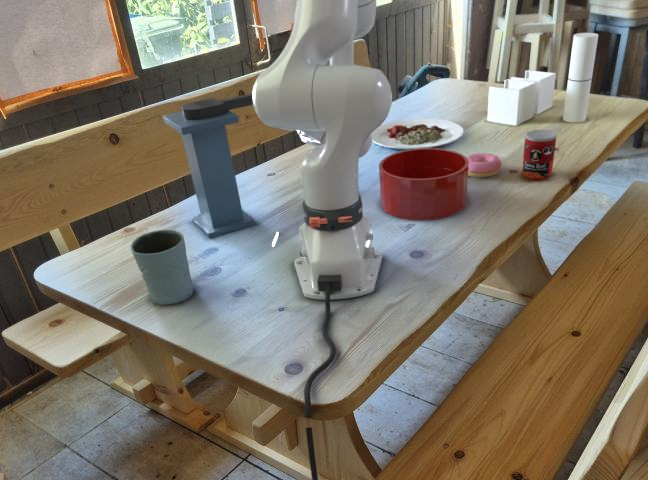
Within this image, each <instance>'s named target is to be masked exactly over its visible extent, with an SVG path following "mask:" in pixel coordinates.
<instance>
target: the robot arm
mask: <svg viewBox="0 0 648 480" xmlns="http://www.w3.org/2000/svg"><path fill="white" fill-rule="evenodd" d="M295 3H296V4H295V14H294V20H293V25H292V29H291V33H290V36H289V38H288V41H287V43H286V44H285V46H284V48H283V50H282V51H281V53H280V54H279V56H278V57H277V58H276V59H275V60H274V61H273V62H272V63H271V64H270V65H269V66H268V67H267V68H265V69H264V70H263V71H261V72H260V73H259V75H258V76H257V77H256V80H255V82H254V84H253V87H252V93H253V94H252V98H253V105H252V106H253V109H254V111H255V113H256V115H257V117H258V118H259V120H260V122H262V123H263V125H266V126H268V127H272V128H276V129H281V130H285V131H296V132H297V134H298V135H299V138H300V140H301V142H303V143H305V144H308V145H310V146H313V147H315V148H314V149H312V150H311V151H309V152H308V153H307V154H306V155H305V156H304V157H303V159H302V161H301V163H300V168H299V169H300V178H301V186H302V193H303V194H302V195H303V200H302V215H303V221H304V222H303V223H302V224H301V225H300V226H299V229H298V230H299V235H300V237H299V238H300V244H301V250H300V252H299V254H300V256H299V257H297V258H295V259H294V263H293V265H294V269H295V273H296V275H297V278H298V282H299V285H300V287H301V291H302V293H303V296H304V298H308V299H312V300H319V301H321V300H323V301H324V306H325V307H324V310H325V311H324V318H323V321H322V324H321V335H322V336H323V339H324V341H325V343H326V344H327V346H328V348H329V351H330V352H329V356H328V357H327V359H326V360H325V361H324V362H323V363H322V364H320V365H319V366H318V367H316V369H314V371H313V372H312V373H310V375H309V377H308V378H307V380H306V382H305V385H304V388H303V396H304V397H303V398H304V417H305V418H306V419H309V418H311V417H312V399H311V388H312V385H313V382H314V381H315V379H316V378H317V377H318V376H319V375H320V374H321V373H322V372H324V371H325V370H326V369H327V368H328V367H329V366H331V364H332V363H333V361H334V360H335V357H336V353H337V350H336V346H335V344H334V342H333V340H332V339H331V338H330V336H329V334H328V324H329V321H330V317H331V301H332V300H344V299H345V300H346V299H352V298H358V297H361V296H365V295H368V294H370V293H373V292H374V291H375V288H376V285H377V281H378V276H379V273H380V269H381V265H382V261H383V254H382V253H381V251H378V250H375V247H374V246H373V240H374V237H373V233H372V229H371V221H370V220H369V219H367V218H366V217H364V216H363V213H364V212H363V206H364V204H363V201H362V196H361V195H360V191H359V189H360V188H359V161H360V158H362V157H364V156H365V155H366V154H367V153H368V152H369V151H370V148H371V146H372V143H373V141H372V136H371V133H372V132H373V131H374V130H375V129H376V128H378V127H379V126H380V125H383V124H384V122H385V121H386V119H387V118H388V116H389V114H390V111H391V108H392V103H393V93H392V87H391V84H390V82H389V80H388V78H387V76H386V75H385V74H384V72H383V71H382V70H381V69H379V68H374V67H369V66H365V65H359V64H355V40H358V39H361V38H363V37H365V36H366V35H368V34H369V33H370V31H371V30H372V29H373V27H374V26H375V22H376V16H377V0H296V2H295ZM327 64H328V65H327ZM279 235H280V234H279V231H276V233H275V235H274V238H273V240H272V243H271V246H272V248H274V247H275V246H276V243H277V241H278V238H279ZM305 434H306V443H307V451H308V452H307V453H308V459H309V460H308V461H309V466H310V474H311V480H319V477H318V469H317V460H316V451H315V444H314V443H315V442H314V435H313V427H312V426H311V427H305Z"/></svg>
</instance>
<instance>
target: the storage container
mask: <svg viewBox="0 0 648 480" xmlns="http://www.w3.org/2000/svg"><path fill="white" fill-rule="evenodd" d="M556 76H557V72H551V71H550V72H549V71H540V70H539V71H538V70H531V69H526V70H525V71H524V77H517V76H513V75H512V76H511V77H510V78H509V79H508V78H506V79H504V81H503V87H497V86H492V85H490V86H488V98H487V114H486V115H487V116H486V121H487V122H490V123H495V124H503V125H509V126H514V127H515V126H516V127H517V126H518V125H520V124H522V123H525V122H527V121H528V120H530V119H532V118H533V117H534V115H539V114H541V113H543V112H545V111H547V110H548V109H551V108H553V105H554V95H555V86H556Z"/></svg>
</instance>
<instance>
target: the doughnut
mask: <svg viewBox="0 0 648 480" xmlns="http://www.w3.org/2000/svg"><path fill="white" fill-rule="evenodd" d="M466 157H467V159H468V161H469V174H468V177H469V176H470V177H473V178H489V177H492V176H495V175H497V174H498V173H500V171H501V169H502V166H503V163H502V159H501V158H500V157H499V156H498V155H496V154H493V153H488V152H479V153H472V154H469V155H467V156H466Z"/></svg>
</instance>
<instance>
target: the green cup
mask: <svg viewBox="0 0 648 480" xmlns="http://www.w3.org/2000/svg"><path fill="white" fill-rule="evenodd" d="M130 251H131V252H132V255H133V258H134V260H135V262H136V264H137V267H138V269H139V271H140V273H141V276H142V279H143V281H144V283H145V286H146V290H147V293H148V295H149V297H150V299H151V301H152V302H153V303H155V304H156V305H161V306H168V305H169V306H170V305H175V304H179V303H182V302H183V301H185V300H187V299H188V298H190V297H191V296H192V294H193V293H194V285H193V280H192V276H191V271H190V265H189V261H188V257H187V248H186V242H185V237H184V234H183V233H182V232H180V231H177V230H174V229H158V230H153V231H149V232H147V233H144V234H141V235H140V236H138V237H136V238H135V239H134V240H133V241H132V242H131V244H130Z"/></svg>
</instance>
